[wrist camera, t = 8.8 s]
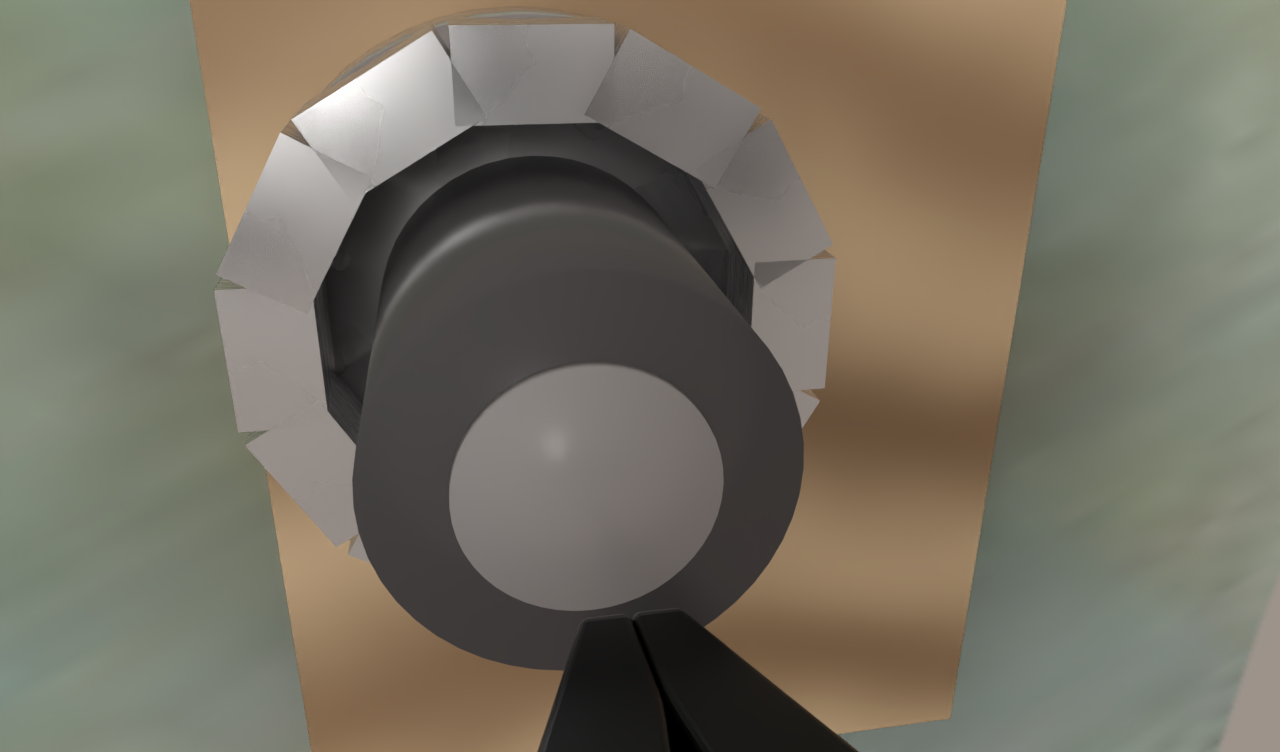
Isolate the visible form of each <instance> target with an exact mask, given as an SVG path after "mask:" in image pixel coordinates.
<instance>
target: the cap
mask: <svg viewBox="0 0 1280 752" xmlns="http://www.w3.org/2000/svg"><path fill="white" fill-rule="evenodd" d="M803 469H804V440H803V433H802V425H801V418H800V414H799V411H798V408H797V404H796V401H795V397H794V394H793V391H792V389H791V387H790V385H789V383H788V381H787V378H786V376H785V374H784V372H783V370H782V368H781V367H780V365H779V364H778V362H777V361H776V359H775V357H774V356H773V354H772V353H771V351H770V350H769V348H768V347H767V346H766V345H765V343H764V342H763V341H762V340H761V338H760V337H759V336H758V335H757V334H756V332H755V331H754V330H753V329H752V328H751V326H750V325H749V324H748V323H747V321H746V320H745V319H744V318H743V317H742V315H741V314H740V313H739V312H738V311H737V309H736V308H735V307H734V306H733V305H732V303H731V302H730V301H729V300H728V298H727V297H726V296H725V295H724V294H723V292H722V291H721V290H720V289H719V288H718V286H717V285H716V284H715V283H714V281H713V280H712V279H711V278H710V277H709V275H708V274H707V273H706V272H705V271H704V269H703V268H702V267H701V266H700V265H699V263H698V262H697V261H696V260H695V258H694V257H693V256H692V255H691V254H690V252H689V251H688V250H687V249H686V248H685V246H684V245H683V244H682V243H681V241H680V240H679V239H678V238H677V237H676V235H675V234H674V233H673V232H672V231H671V229H670V228H669V227H668V226H667V225H666V223H665V222H664V221H663V220H662V218H661V217H660V216H659V215H658V214H657V212H656V211H655V210H654V209H653V208H652V207H651V206H650V205H649V203H648V202H647V201H646V200H645V199H644V198H643V197H642V196H641V195H639V194H638V193H637V192H636V191H635V190H634V189H632V188H631V187H630V186H629V185H627V184H626V183H624V182H623V181H621V180H620V179H618V178H616V177H615V176H613V175H612V174H610V173H607V172H605V171H603V170H601V169H599V168H597V167H594V166H592V165H589V164H585V163H582V162H579V161H576V160H571V159H566V158H560V157H554V156H523V157H512V158H507V159H503V160H498V161H494V162H490V163H487V164H484V165H482V166H479V167H476V168H474V169H471V170H469V171H467V172H465V173H463V174H461V175H460V176H458V177H456V178H454V179H452V180H451V181H449V182H448V183H446V184H445V185H444V186H442V187H441V188H439V189H438V190H437V191H435V192H434V193H433V194H432V195H431V196H430V197H429V198H428V199H427V200H426V201H424V202H423V203H422V204H421V205H420V206H419V207H418V209H417V210H416V211H415V212H414V214H413V215H412V216H411V217H410V219H409V220H408V221H407V222H406V224H405V226H404V227H403V229H402V231H401V232H400V234H399V236H398V237H397V239H396V241H395V243H394V246H393V248H392V250H391V253H390V255H389V258H388V261H387V264H386V268H385V272H384V276H383V281H382V287H381V293H380V300H379V306H378V312H377V318H376V325H375V331H374V337H373V344H372V350H371V356H370V362H369V369H368V375H367V381H366V388H365V394H364V400H363V406H362V413H361V419H360V425H359V432H358V438H357V444H356V451H355V459H354V468H353V477H352V487H353V507H354V512H355V517H356V522H357V527H358V532H359V535H360V538H361V541H362V544H363V546H364V549H365V552H366V554H367V557H368V559H369V561H370V563H371V565H372V566H373V568H374V570H375V572H376V574H377V575H378V577H379V579H380V581H381V582H382V583H383V585H384V586H385V587H386V589H387V590H388V591H389V593H390V594H391V595H392V597H393V598H394V599H395V600H396V602H397V603H398V604H399V605H400V606H401V607H402V608H403V609H404V610H405V611H406V612H407V613H409V614H410V615H411V616H412V617H413V618H414V619H415V620H416V621H417V622H419V623H420V624H421V625H423V626H424V627H425V628H427V629H428V630H429V631H431V632H432V633H433V634H435V635H436V636H438V637H440V638H441V639H443V640H445V641H447V642H449V643H450V644H452V645H454V646H456V647H458V648H459V649H462V650H464V651H467V652H469V653H472V654H474V655H477V656H479V657H482V658H484V659H488V660H492V661H495V662H499V663H503V664H506V665H510V666H517V667H523V668H530V669H537V670H560V671H564V669H565V666H566V663H567V660H568V657H569V654H570V651H571V648H572V645H573V642H574V639H575V636H576V633H577V630H578V627H579V625H580V623H581V622H582V620H584V619H585V618H588V617H597V616H606V615H615V614H625V615H627V616H629V617H630V618H631V619H632V618H633V616H634V615H635V614H636V613H637V612H642V611H650V610H659V609H668V608H678V609H681V610H683V611H684V612H686V613H687V614H688V615H689V616H691V617H692V618H693V619H694V620H696V621H697V622H698V623H699V624H701V625H702V626H703V627H704V626H706V625H707V624H709V623H710V622H712V621H714V620H715V619H716V618H717V617H719V616H720V615H721V614H722V613H723V612H725V611H726V610H727V609H728V608H729V607H731V606H732V605H733V604H734V603H735V602H736V601H737V600H738V599H739V598H740V597H741V596H742V595H743V594H744V593H745V592H746V591H747V590H748V589H749V588H750V587H751V586H752V585H753V584H754V582H755V581H756V580H757V578H758V577H759V576H760V575H761V573H762V572H763V571H764V569H765V568H766V567H767V565H768V564H769V563H770V561H771V559H772V558H773V556H774V554H775V553H776V551H777V549H778V548H779V546H780V544H781V543H782V541H783V539H784V536H785V534H786V532H787V529H788V527H789V525H790V523H791V520H792V518H793V515H794V511H795V508H796V505H797V501H798V498H799V494H800V489H801V482H802V476H803Z"/></svg>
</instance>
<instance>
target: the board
mask: <svg viewBox="0 0 1280 752" xmlns="http://www.w3.org/2000/svg"><path fill="white" fill-rule="evenodd" d="M1066 2H1067V0H190V5H191V11H192V18H193V24H194V30H195V36H196V42H197V48H198V54H199V61H200V67H201V73H202V79H203V85H204V91H205V98H206V104H207V110H208V116H209V122H210V128H211V135H212V141H213V147H214V153H215V159H216V165H217V172H218V178H219V184H220V190H221V196H222V202H223V209H224V215H225V221H226V227H227V233H228V239H229V244H230V242H231V240H232V238H233V236H234V233H235V231H236V229H237V227H238V224H239V222H240V220H241V218H242V216H243V213H244V211H245V209H246V207H247V205H248V202H249V200H250V198H251V196H252V193H253V191H254V189H255V187H256V185H257V182H258V180H259V178H260V176H261V174H262V171H263V169H264V167H265V165H266V162H267V160H268V158H269V156H270V154H271V151H272V149H273V147H274V145H275V143H276V140H277V138H278V136H279V134H280V132H281V131H282V129H283V128H284V127H285V126H286V125H287V123H288V122H289V121H290V120H291V118H292V117H293V116H294V115H295V114H296V113H297V112H298V111H299V109H300V108H301V107H302V106H303V104H304V103H306V102H307V101H309V100H310V99H312V98H314V97H315V96H317V95H318V94H319V93H320V92H321V91H322V90H323V89H324V88H325V87H326V86H327V85H328V84H329V83H330V82H331V81H332V80H333V79H334V78H335V77H336V76H337V75H338V74H339V73H340V72H341V71H342V70H343V69H344V68H346V67H347V66H348V65H350V64H351V63H352V62H354V61H355V60H356V59H358V58H359V57H360V56H362V55H363V54H364V53H366V52H367V51H369V50H370V49H371V48H373V47H374V46H376V45H378V44H380V43H382V42H383V41H385V40H387V39H389V38H391V37H393V36H394V35H396V34H398V33H400V32H402V31H404V30H406V29H408V28H411V27H414V26H416V25H419V24H422V23H424V22H427V21H430V20H433V19H435V18H438V17H441V16H445V15H450V14H455V13H459V12H464V11H468V10H473V9H479V8H492V7H506V6H523V7H538V8H551V9H556V10H561V11H566V12H571V13H576V14H580V15H585V16H588V17H600V18H602V19H604V20H606V21H609V22H611V23H612V21H614V22H616V23H619V24H621V25H623V26H626V27H628V28H630V29H632V30H634V31H635V32H637V33H639V34H640V35H642V36H644V37H645V38H647V39H648V40H650V41H652V42H653V43H655V44H657V45H658V46H660V47H662V48H663V49H665V50H666V51H668V52H670V53H672V54H674V55H676V56H677V57H679V58H680V59H682V60H683V61H685V62H686V63H688V64H689V65H691V66H693V67H694V68H696V69H698V70H699V71H701V72H703V73H704V74H706V75H707V76H709V77H711V78H712V79H714V80H716V81H717V82H719V83H721V84H722V85H724V86H725V87H727V88H729V89H730V90H732V91H734V92H735V93H737V94H739V95H740V96H742V97H743V98H745V99H747V100H748V101H750V102H752V103H753V104H755V105H757V106H758V107H760V108H761V110H760V112H759V113H760V114H762V115H764V116H765V117H767V118H769V119H771V120H772V122H773V124H774V126H775V128H776V130H777V132H778V134H779V136H780V138H781V140H782V142H783V144H784V146H785V148H786V150H787V152H788V154H789V156H790V158H791V160H792V162H793V164H794V166H795V168H796V170H797V172H798V174H799V176H800V178H801V180H802V182H803V184H804V186H805V188H806V190H807V192H808V194H809V196H810V198H811V200H812V202H813V204H814V206H815V208H816V210H817V212H818V215H819V217H820V219H821V221H822V223H823V225H824V227H825V229H826V231H827V233H828V235H829V237H830V239H831V241H832V243H833V245H832V246H830V247H828V248H827V249H825V250H826V251H827V252H829V253H830V254H831V255H832V256H834V257H835V258H836V262H835V274H834V285H833V297H832V309H831V321H830V332H829V344H828V356H827V368H826V379H825V388H822V389H811V391H812V392H813V393H814V394H815V395H816V397H817V398H818V399H819V400H820V402H819V403H818V405H817V407H816V408H815V410H814V411H813V413H812V414H811V416H810V417H809V419H808V420H807V422H806V423H805V425H804V426H803V428H802V433H803V440H804V469H803V476H802V482H801V489H800V494H799V498H798V501H797V505H796V508H795V511H794V515H793V518H792V520H791V523H790V525H789V527H788V529H787V532H786V534H785V536H784V539H783V541H782V543H781V544H780V546H779V548H778V549H777V551H776V553H775V554H774V556H773V558H772V559H771V561H770V563H769V564H768V565H767V567H766V568H765V569H764V571H763V572H762V573H761V575H760V576H759V577H758V578H757V580H756V581H755V582H754V584H753V585H752V586H751V587H750V588H749V589H748V590H747V591H746V592H745V593H744V594H743V595H742V596H741V597H740V598H739V599H738V600H737V601H736V602H735V603H734V604H733V605H732V606H731V607H729V608H728V609H727V610H726V611H725V612H723V613H722V614H721V615H720V616H719V617H717V618H716V619H715V620H714V621H712V622H710V623H709V624H707V625H706V626H704V628H706V629H707V630H708V631H709V632H711V633H712V634H713V635H714V636H716V637H717V638H718V639H719V640H721V641H722V642H723V643H724V644H726V645H727V646H728V647H729V648H730V649H732V650H733V651H734V652H735V653H737V654H738V655H739V656H740V657H742V658H743V659H744V660H745V661H747V662H748V663H749V664H750V665H752V666H753V667H754V668H755V669H757V670H758V671H759V672H760V673H762V674H763V675H764V676H765V677H766V678H768V679H769V680H770V681H771V682H773V683H774V684H775V685H776V686H778V687H779V688H780V689H781V690H783V691H784V692H785V693H786V694H788V695H789V696H790V697H791V698H793V699H794V700H795V701H796V702H798V703H799V704H800V705H801V706H803V707H804V708H805V709H806V710H807V711H809V712H810V713H811V714H812V715H814V716H815V717H816V718H817V719H819V720H820V721H821V722H822V723H824V724H825V725H826V726H827V727H829V728H830V729H831V730H832V731H834V732H835V733H836V734H842V733H849V732H856V731H864V730H871V729H878V728H885V727H893V726H900V725H907V724H914V723H921V722H929V721H936V720H943V719H950V716H951V709H952V703H953V697H954V691H955V685H956V679H957V672H958V666H959V660H960V654H961V648H962V642H963V636H964V629H965V623H966V617H967V611H968V605H969V599H970V593H971V586H972V580H973V574H974V568H975V562H976V556H977V550H978V543H979V537H980V531H981V525H982V519H983V513H984V506H985V500H986V494H987V488H988V482H989V476H990V470H991V463H992V457H993V451H994V445H995V439H996V433H997V427H998V420H999V414H1000V408H1001V402H1002V396H1003V390H1004V383H1005V377H1006V371H1007V365H1008V359H1009V353H1010V347H1011V340H1012V334H1013V328H1014V322H1015V316H1016V310H1017V304H1018V297H1019V291H1020V285H1021V279H1022V273H1023V267H1024V260H1025V254H1026V248H1027V242H1028V236H1029V230H1030V224H1031V217H1032V211H1033V205H1034V199H1035V193H1036V187H1037V181H1038V174H1039V168H1040V162H1041V156H1042V150H1043V144H1044V137H1045V131H1046V125H1047V119H1048V113H1049V107H1050V101H1051V94H1052V88H1053V82H1054V76H1055V70H1056V64H1057V58H1058V51H1059V45H1060V39H1061V33H1062V27H1063V21H1064V15H1065V8H1066ZM266 473H267V480H268V486H269V492H270V498H271V504H272V510H273V517H274V523H275V529H276V535H277V541H278V547H279V554H280V560H281V566H282V572H283V578H284V584H285V591H286V597H287V603H288V609H289V615H290V621H291V627H292V634H293V640H294V646H295V652H296V658H297V664H298V671H299V677H300V683H301V689H302V695H303V701H304V708H305V714H306V720H307V726H308V732H309V738H310V745H311V751H312V752H537V751H538V748H539V745H540V742H541V739H542V736H543V733H544V730H545V727H546V724H547V721H548V718H549V715H550V712H551V709H552V705H553V702H554V699H555V696H556V693H557V690H558V687H559V684H560V681H561V678H562V675H563V672H564V671H560V670H537V669H530V668H523V667H517V666H510V665H506V664H503V663H499V662H495V661H492V660H488V659H484V658H482V657H479V656H477V655H474V654H472V653H469V652H467V651H464V650H462V649H459V648H458V647H456V646H454V645H452V644H450V643H449V642H447V641H445V640H443V639H441V638H440V637H438V636H436V635H435V634H433V633H432V632H431V631H429V630H428V629H427V628H425V627H424V626H423V625H421V624H420V623H419V622H417V621H416V620H415V619H414V618H413V617H412V616H411V615H410V614H409V613H407V612H406V611H405V610H404V609H403V608H402V607H401V606H400V605H399V604H398V603H397V602H396V600H395V599H394V598H393V597H392V595H391V594H390V593H389V591H388V590H387V589H386V587H385V586H384V585H383V583H382V582H381V581H380V579H379V577H378V575H377V574H376V572H375V570H374V568H373V566H372V565H371V563H369V562H366V561H363V560H361V559H358V558H355V557H352V556H349V555H348V551H349V544H350V539H349V540H347V541H346V542H344V543H343V544H341V545H339V546H338V547H335V545H334V544H333V543H332V542H331V541H330V540H329V539H328V538H327V537H326V535H325V534H324V533H323V532H322V531H321V530H320V529H319V528H318V526H317V525H316V524H315V523H314V522H313V521H312V520H311V519H310V518H309V516H308V515H307V514H306V513H305V512H304V511H303V510H302V509H301V508H300V506H299V505H298V504H297V503H296V502H295V501H294V500H293V499H292V498H291V496H290V495H289V494H288V493H287V492H286V491H285V490H284V489H283V488H282V486H281V485H280V484H279V483H278V482H277V481H276V480H275V479H274V478H273V476H272V475H271V474H270V473H269V472H268V471H267V470H266Z"/></svg>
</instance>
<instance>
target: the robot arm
mask: <svg viewBox="0 0 1280 752" xmlns="http://www.w3.org/2000/svg"><path fill="white" fill-rule="evenodd" d="M537 752H858V751H857V750H856V749H855V748H853V747H852V746H851V745H850V744H848V743H847V742H846V741H845V740H844V739H842V738H841V737H840V736H839V735H837V734H836V733H835V732H834V731H832V730H831V729H830V728H829V727H827V726H826V725H825V724H824V723H822V722H821V721H820V720H819V719H817V718H816V717H815V716H814V715H812V714H811V713H810V712H809V711H807V710H806V709H805V708H804V707H803V706H801V705H800V704H799V703H798V702H796V701H795V700H794V699H793V698H791V697H790V696H789V695H788V694H786V693H785V692H784V691H783V690H781V689H780V688H779V687H778V686H776V685H775V684H774V683H773V682H771V681H770V680H769V679H768V678H766V677H765V676H764V675H763V674H762V673H760V672H759V671H758V670H757V669H755V668H754V667H753V666H752V665H750V664H749V663H748V662H747V661H745V660H744V659H743V658H742V657H740V656H739V655H738V654H737V653H735V652H734V651H733V650H732V649H730V648H729V647H728V646H727V645H726V644H724V643H723V642H722V641H721V640H719V639H718V638H717V637H716V636H714V635H713V634H712V633H711V632H709V631H708V630H707V629H706V628H704V627H703V626H702V625H701V624H699V623H698V622H697V621H696V620H694V619H693V618H692V617H691V616H689V615H688V614H687V613H686V612H684V611H683V610H681V609H678V608H668V609H659V610H650V611H642V612H637V613H636V614H635V615H634V616H633V618H632V619H631V618H630V617H629V616H627V615H625V614H615V615H606V616H597V617H588V618H585V619H584V620H582V622H581V623H580V625H579V627H578V630H577V633H576V636H575V639H574V642H573V645H572V648H571V651H570V654H569V657H568V660H567V663H566V666H565V669H564V672H563V675H562V678H561V681H560V684H559V687H558V690H557V693H556V696H555V699H554V702H553V705H552V709H551V712H550V715H549V718H548V721H547V724H546V727H545V730H544V733H543V736H542V739H541V742H540V745H539V748H538V751H537Z"/></svg>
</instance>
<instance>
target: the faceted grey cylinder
mask: <svg viewBox="0 0 1280 752" xmlns="http://www.w3.org/2000/svg"><path fill="white" fill-rule="evenodd" d="M760 110H761V108H760V107H758V106H757V105H755V104H753V103H752V102H750V101H748V100H747V99H745V98H743V97H742V96H740V95H739V94H737V93H735V92H734V91H732V90H730V89H729V88H727V87H725V86H724V85H722V84H721V83H719V82H717V81H716V80H714V79H712V78H711V77H709V76H707V75H706V74H704V73H703V72H701V71H699V70H698V69H696V68H694V67H693V66H691V65H689V64H688V63H686V62H685V61H683V60H682V59H680V58H679V57H677V56H676V55H674V54H672V53H670V52H668V51H666V50H665V49H663V48H662V47H660V46H658V45H657V44H655V43H653V42H652V41H650V40H648V39H647V38H645V37H644V36H642V35H640V34H639V33H637V32H635V31H634V30H632V29H630V28H628V27H626V26H623V25H621V24H619V23H616V22H614V21H612V23H611V22H609V21H606V20H604V19H602V18H600V17H588V16H585V15H580V14H576V13H571V12H566V11H561V10H556V9H551V8H538V7H523V6H506V7H492V8H479V9H473V10H468V11H464V12H459V13H455V14H450V15H445V16H441V17H438V18H435V19H433V20H430V21H427V22H424V23H422V24H419V25H416V26H414V27H411V28H408V29H406V30H404V31H402V32H400V33H398V34H396V35H394V36H393V37H391V38H389V39H387V40H385V41H383V42H382V43H380V44H378V45H376V46H374V47H373V48H371V49H370V50H369V51H367V52H366V53H364V54H363V55H362V56H360V57H359V58H358V59H356V60H355V61H354V62H352V63H351V64H350V65H348V66H347V67H346V68H344V69H343V70H342V71H341V72H340V73H339V74H338V75H337V76H336V77H335V78H334V79H333V80H332V81H331V82H330V83H329V84H328V85H327V86H326V87H325V88H324V89H323V90H322V91H321V92H320V93H319V94H318V95H317V96H315V97H314V98H312V99H310V100H309V101H307V102H306V103H304V104H303V106H302V107H301V108H300V109H299V111H298V112H297V113H296V114H295V115H294V116H293V117H292V118H291V120H290V121H289V122H288V123H287V125H286V126H285V127H284V128H283V129H282V131H281V132H280V134H279V136H278V138H277V140H276V143H275V145H274V147H273V149H272V151H271V154H270V156H269V158H268V160H267V162H266V165H265V167H264V169H263V171H262V174H261V176H260V178H259V180H258V182H257V185H256V187H255V189H254V191H253V193H252V196H251V198H250V200H249V202H248V205H247V207H246V209H245V211H244V213H243V216H242V218H241V220H240V222H239V224H238V227H237V229H236V231H235V233H234V236H233V238H232V240H231V242H230V244H229V247H228V249H227V251H226V253H225V255H224V258H223V260H222V262H221V264H220V266H219V269H218V271H217V273H216V275H217V276H220V277H222V278H221V280H220V281H219V283H218V284H217V286H216V288H215V289H214V294H215V300H216V306H217V312H218V318H219V324H220V329H221V335H222V341H223V347H224V353H225V359H226V364H227V370H228V376H229V382H230V388H231V393H232V399H233V405H234V411H235V417H236V423H237V428H238V432H250V433H249V436H248V438H247V441H246V444H245V446H246V447H247V449H248V450H249V451H250V452H251V453H252V454H253V455H254V456H255V457H256V459H257V460H258V461H259V462H260V463H261V464H262V465H263V466H264V467H265V469H266V470H267V471H268V472H269V473H270V474H271V475H272V476H273V478H274V479H275V480H276V481H277V482H278V483H279V484H280V485H281V486H282V488H283V489H284V490H285V491H286V492H287V493H288V494H289V495H290V496H291V498H292V499H293V500H294V501H295V502H296V503H297V504H298V505H299V506H300V508H301V509H302V510H303V511H304V512H305V513H306V514H307V515H308V516H309V518H310V519H311V520H312V521H313V522H314V523H315V524H316V525H317V526H318V528H319V529H320V530H321V531H322V532H323V533H324V534H325V535H326V537H327V538H328V539H329V540H330V541H331V542H332V543H333V544H334V545H335V547H338V546H339V545H341V544H343V543H344V542H346V541H347V540H349V539H350V544H349V551H348V555H349V556H352V557H355V558H358V559H361V560H363V561H366V562H369V563H370V561H369V559H368V557H367V554H366V552H365V549H364V546H363V544H362V541H361V538H360V535H359V532H358V527H357V522H356V517H355V512H354V507H353V487H352V477H353V468H354V459H355V451H356V444H357V438H358V432H359V425H360V419H361V413H362V406H363V400H364V394H365V388H366V381H367V375H368V369H369V362H370V356H371V350H372V344H373V337H374V331H375V325H376V318H377V312H378V306H379V300H380V293H381V287H382V281H383V276H384V272H385V268H386V264H387V261H388V258H389V255H390V253H391V250H392V248H393V246H394V243H395V241H396V239H397V237H398V236H399V234H400V232H401V231H402V229H403V227H404V226H405V224H406V222H407V221H408V220H409V219H410V217H411V216H412V215H413V214H414V212H415V211H416V210H417V209H418V207H419V206H420V205H421V204H422V203H423V202H424V201H426V200H427V199H428V198H429V197H430V196H431V195H432V194H433V193H434V192H435V191H437V190H438V189H439V188H441V187H442V186H444V185H445V184H446V183H448V182H449V181H451V180H452V179H454V178H456V177H458V176H460V175H461V174H463V173H465V172H467V171H469V170H471V169H474V168H476V167H479V166H482V165H484V164H487V163H490V162H494V161H498V160H503V159H507V158H512V157H523V156H554V157H560V158H566V159H571V160H576V161H579V162H582V163H585V164H589V165H592V166H594V167H597V168H599V169H601V170H603V171H605V172H607V173H610V174H612V175H613V176H615V177H616V178H618V179H620V180H621V181H623V182H624V183H626V184H627V185H629V186H630V187H631V188H632V189H634V190H635V191H636V192H637V193H638V194H639V195H641V196H642V197H643V198H644V199H645V200H646V201H647V202H648V203H649V205H650V206H651V207H652V208H653V209H654V210H655V211H656V212H657V214H658V215H659V216H660V217H661V218H662V220H663V221H664V222H665V223H666V225H667V226H668V227H669V228H670V229H671V231H672V232H673V233H674V234H675V235H676V237H677V238H678V239H679V240H680V241H681V243H682V244H683V245H684V246H685V248H686V249H687V250H688V251H689V252H690V254H691V255H692V256H693V257H694V258H695V260H696V261H697V262H698V263H699V265H700V266H701V267H702V268H703V269H704V271H705V272H706V273H707V274H708V275H709V277H710V278H711V279H712V280H713V281H714V283H715V284H716V285H717V286H718V288H719V289H720V290H721V291H722V292H723V294H724V295H725V296H726V297H727V298H728V300H729V301H730V302H731V303H732V305H733V306H734V307H735V308H736V309H737V311H738V312H739V313H740V314H741V315H742V317H743V318H744V319H745V320H746V321H747V323H748V324H749V325H750V326H751V328H752V329H753V330H754V331H755V332H756V334H757V335H758V336H759V337H760V338H761V340H762V341H763V342H764V343H765V345H766V346H767V347H768V348H769V350H770V351H771V353H772V354H773V356H774V357H775V359H776V361H777V362H778V364H779V365H780V367H781V368H782V370H783V372H784V374H785V376H786V378H787V381H788V383H789V385H790V387H791V389H792V391H793V394H794V397H795V401H796V404H797V408H798V411H799V414H800V418H801V425H802V428H803V426H804V425H805V423H806V422H807V420H808V419H809V417H810V416H811V414H812V413H813V411H814V410H815V408H816V407H817V405H818V403H819V402H820V400H819V399H818V398H817V397H816V395H815V394H814V393H813V392H812V391H811V389H822V388H825V379H826V368H827V356H828V344H829V332H830V321H831V309H832V297H833V285H834V274H835V262H836V258H835V257H834V256H832V255H831V254H830V253H829V252H827V251H826V250H825V249H827V248H828V247H830V246H832V245H833V243H832V241H831V239H830V237H829V235H828V233H827V231H826V229H825V227H824V225H823V223H822V221H821V219H820V217H819V215H818V212H817V210H816V208H815V206H814V204H813V202H812V200H811V198H810V196H809V194H808V192H807V190H806V188H805V186H804V184H803V182H802V180H801V178H800V176H799V174H798V172H797V170H796V168H795V166H794V164H793V162H792V160H791V158H790V156H789V154H788V152H787V150H786V148H785V146H784V144H783V142H782V140H781V138H780V136H779V134H778V132H777V130H776V128H775V126H774V124H773V122H772V120H771V119H769V118H767V117H765V116H764V115H762V114H760V113H759V112H760Z"/></svg>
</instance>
